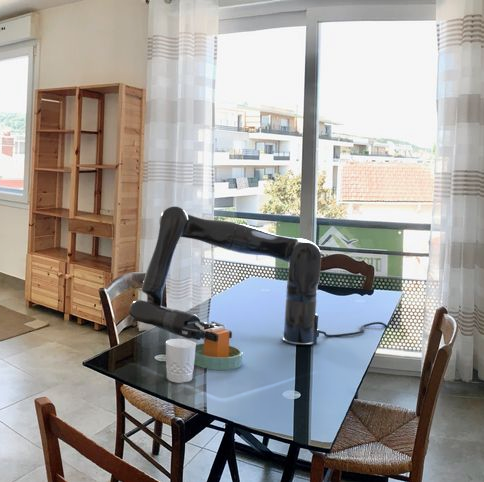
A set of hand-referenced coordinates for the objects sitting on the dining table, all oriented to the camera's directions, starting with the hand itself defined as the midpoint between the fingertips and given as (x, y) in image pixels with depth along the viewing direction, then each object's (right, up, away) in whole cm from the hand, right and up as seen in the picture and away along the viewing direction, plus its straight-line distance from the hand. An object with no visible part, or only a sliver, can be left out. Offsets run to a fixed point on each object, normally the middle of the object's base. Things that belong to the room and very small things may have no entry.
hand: (224, 336), depth 175 cm
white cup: (-15, -10, -10) cm, 20 cm away
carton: (-1, -8, +3) cm, 8 cm away
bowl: (-2, -8, +3) cm, 9 cm away
